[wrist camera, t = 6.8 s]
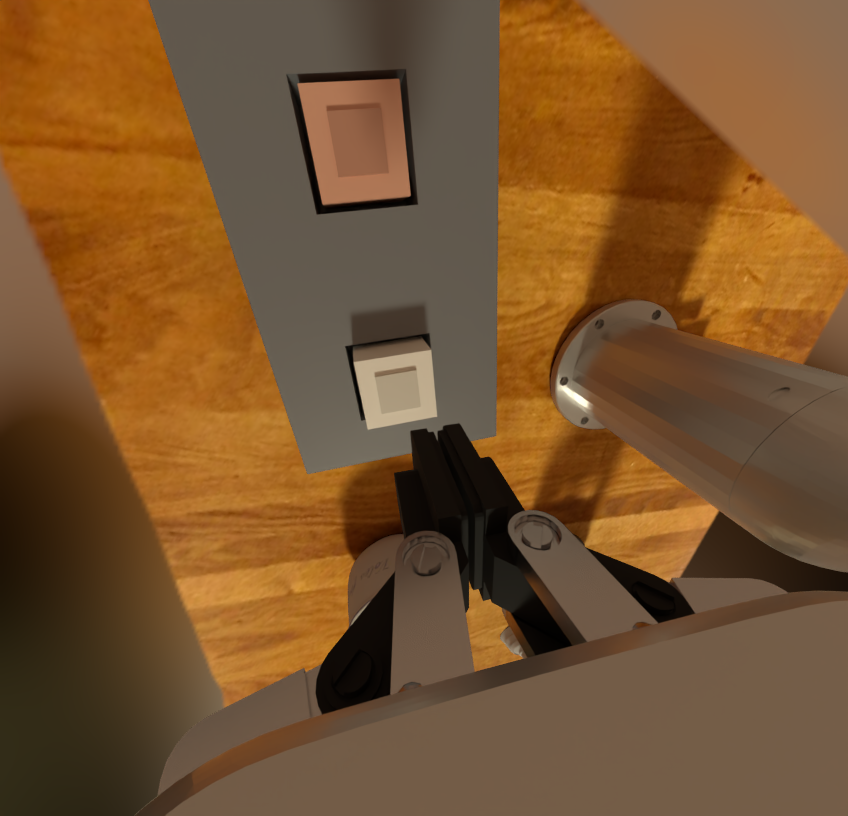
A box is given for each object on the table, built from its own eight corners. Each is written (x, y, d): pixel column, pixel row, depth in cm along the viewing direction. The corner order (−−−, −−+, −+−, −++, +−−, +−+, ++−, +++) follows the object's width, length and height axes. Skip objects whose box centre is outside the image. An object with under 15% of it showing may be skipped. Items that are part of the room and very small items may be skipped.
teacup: (366, 510, 34) (372, 581, 27) (458, 526, 37) (484, 592, 30) (327, 600, 38) (322, 679, 32) (411, 605, 42) (424, 678, 35)
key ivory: (420, 336, 21) (431, 350, 19) (427, 396, 24) (437, 418, 21) (352, 346, 21) (353, 363, 18) (365, 407, 23) (367, 431, 20)
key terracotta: (391, 103, 17) (400, 76, 14) (401, 201, 19) (411, 195, 17) (305, 107, 17) (296, 81, 14) (325, 208, 19) (322, 203, 16)
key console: (457, 31, 19) (499, -47, 14) (470, 401, 30) (496, 435, 25) (197, 38, 17) (132, -49, 12) (314, 430, 28) (307, 474, 23)
